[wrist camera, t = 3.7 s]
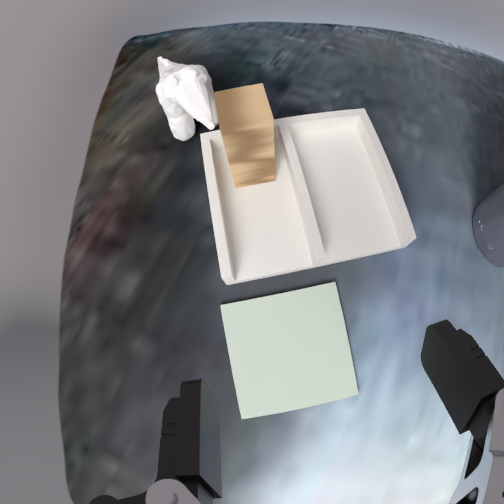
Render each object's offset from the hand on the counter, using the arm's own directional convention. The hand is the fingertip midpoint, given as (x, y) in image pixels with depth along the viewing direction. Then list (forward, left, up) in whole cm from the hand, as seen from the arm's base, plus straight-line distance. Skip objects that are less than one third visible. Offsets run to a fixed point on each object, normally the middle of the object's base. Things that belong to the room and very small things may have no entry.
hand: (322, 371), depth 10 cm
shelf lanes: (-5, -17, -22) cm, 28 cm away
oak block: (0, -21, -21) cm, 30 cm away
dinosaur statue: (+7, -33, -22) cm, 40 cm away
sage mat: (0, 0, -22) cm, 22 cm away
